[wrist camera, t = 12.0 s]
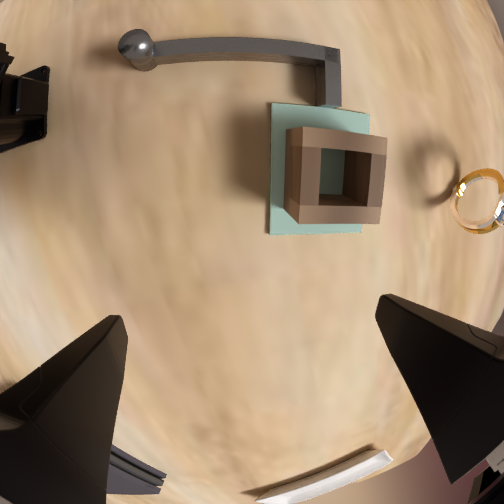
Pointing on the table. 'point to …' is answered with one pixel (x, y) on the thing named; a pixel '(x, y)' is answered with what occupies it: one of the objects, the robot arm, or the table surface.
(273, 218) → the pad
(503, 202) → the ring
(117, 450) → the gaming console
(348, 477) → the tray
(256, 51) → the hook
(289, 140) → the brown square cubby
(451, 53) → the table surface
